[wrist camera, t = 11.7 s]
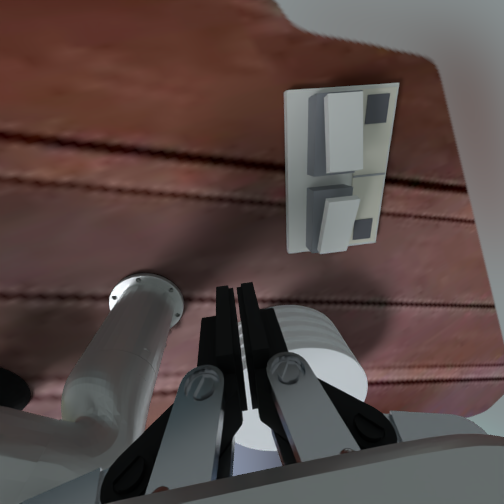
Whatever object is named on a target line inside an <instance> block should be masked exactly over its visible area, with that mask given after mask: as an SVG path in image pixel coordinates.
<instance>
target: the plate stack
mask: <svg viewBox="0 0 504 504" xmlns="http://www.w3.org/2000/svg"><path fill="white" fill-rule="evenodd" d="M269 308H274V311H275V314H276V317H277V320H278V322H279V325H280V328H281V331H282V334H283V337H284V340H285V343H286V346H287V349H288V352H293V353H296V354H299V355H300V356H302V357H303V358H304V359H305V360H306V361H307V362H308V364H309V366H310V367H311V369H312V371H313V372H314V374H315V375H316V377H317V378H319V379H321V380H323V381H325V382H327V383H328V384H330V385H332V386H334V387H336V388H338V389H340V390H342V391H344V392H345V393H347V394H349V395H351V396H353V397H355V398H357V399H359V400H361V401H362V402H364V400H365V398H366V394H367V389H368V383H367V377H366V374H365V372H364V370H363V368H362V367H361V365H360V364H359V362H358V361H357V359H356V358H355V356H354V354H353V353H352V351H351V350H350V348H349V347H348V345H347V344H346V342H345V341H344V339H343V338H342V336H341V334H340V333H339V331H338V330H337V328H336V327H335V325H334V324H333V322H332V321H331V320H330V319H329V318H328V317H327V316H325V315H324V314H323V313H321V312H319V311H317V310H315V309H312V308H309V307H305V306H300V305H280V306H274V307H269ZM266 309H267V308H266ZM238 330H239V338H240V346H241V355H242V364H243V372H244V381H245V390H246V399H247V408H248V410H247V411H242V413H243V421H242V423H243V424H242V426H241V427H240V428H239V430H238V431H237V433H236V434H235V442H237V443H238V444H240V445H243V446H245V447H248V448H252V449H257V450H264V451H277V448H276V445H275V442H274V439H273V436H272V432H271V428H270V427H268V426H267V425H266V424H264V423H263V422H262V421H260V418H259V413H258V409H253V410H252V403H251V395H250V387H249V380H248V372H247V365H246V357H245V350H244V342H243V334H242V326H241V321H240V322H238Z"/></svg>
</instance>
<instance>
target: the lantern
mask: <svg viewBox="0 0 504 504" xmlns="http://www.w3.org/2000/svg"><path fill="white" fill-rule="evenodd" d="M29 399H30V389H29V387H28V385H27V384H26V383H25V382H24V380H23V379H21V378H20V377H19V376H18V375H16V374H14V373H12V372H11V371H8V370H6V369H3V368H0V406H4V407H9V408H13V409H17V410H23V409H24V408H25V407H26V405H27V403H28V401H29Z"/></svg>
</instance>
